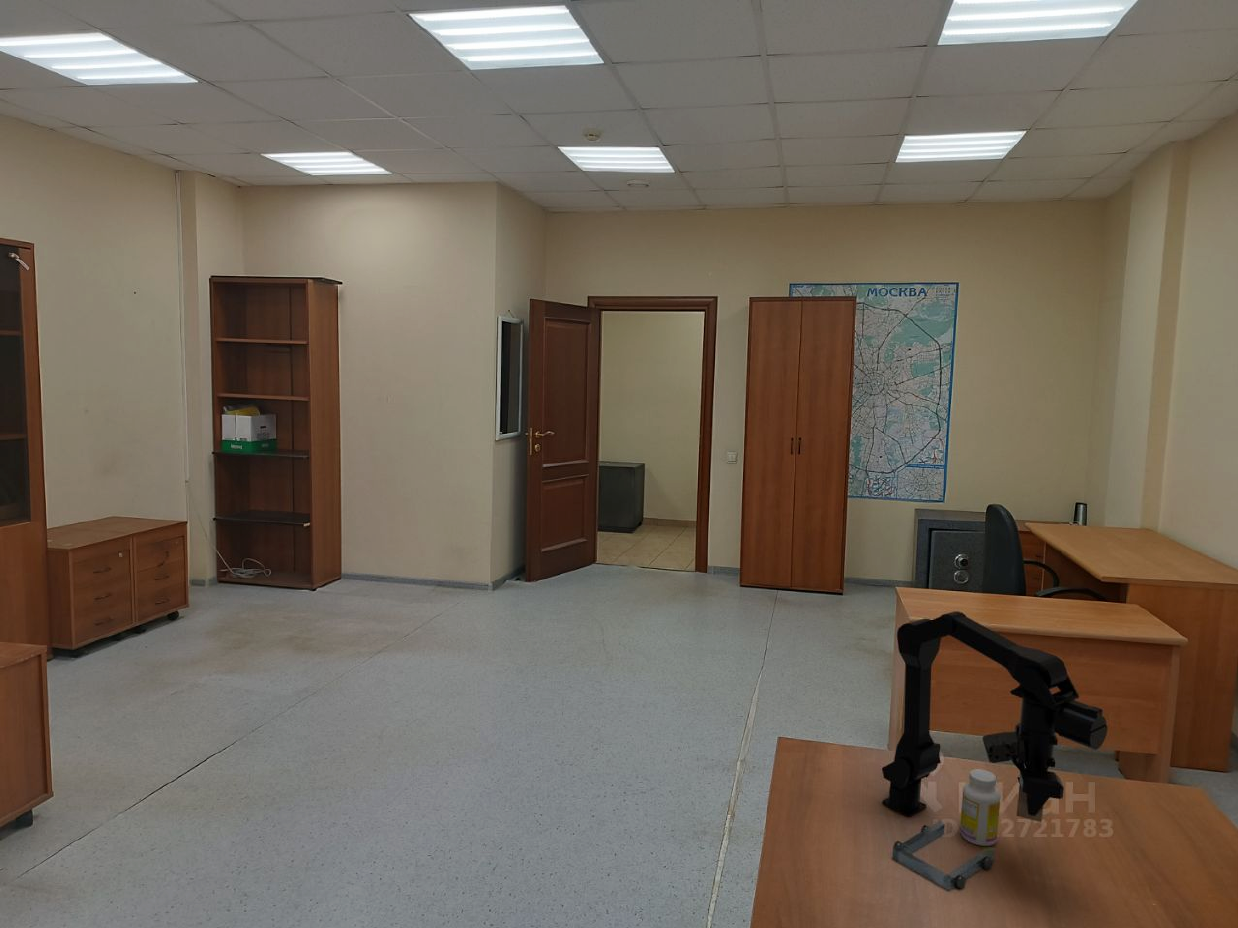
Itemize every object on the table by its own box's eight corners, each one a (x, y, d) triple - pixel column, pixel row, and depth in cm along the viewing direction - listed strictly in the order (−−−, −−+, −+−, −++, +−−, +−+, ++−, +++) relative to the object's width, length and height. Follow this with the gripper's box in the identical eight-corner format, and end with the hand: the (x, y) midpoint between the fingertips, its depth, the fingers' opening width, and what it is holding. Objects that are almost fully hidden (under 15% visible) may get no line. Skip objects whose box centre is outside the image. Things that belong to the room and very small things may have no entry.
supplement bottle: (995, 831, 163) (1000, 770, 161) (998, 850, 157) (1004, 786, 155) (958, 824, 165) (963, 763, 163) (960, 842, 159) (965, 780, 157)
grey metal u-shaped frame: (933, 828, 164) (934, 818, 163) (999, 862, 153) (1000, 852, 153) (887, 855, 154) (888, 845, 154) (954, 893, 144) (955, 883, 144)
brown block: (1017, 804, 152) (1020, 779, 151) (1042, 811, 150) (1044, 785, 149) (1016, 815, 148) (1019, 789, 147) (1041, 821, 146) (1044, 795, 146)
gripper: (982, 698, 158) (975, 774, 160) (994, 741, 140) (986, 827, 142) (1047, 706, 154) (1039, 785, 157) (1068, 752, 137) (1059, 840, 139)
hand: (1029, 807), depth 149 cm, fingers closed on brown block, 4 cm apart
